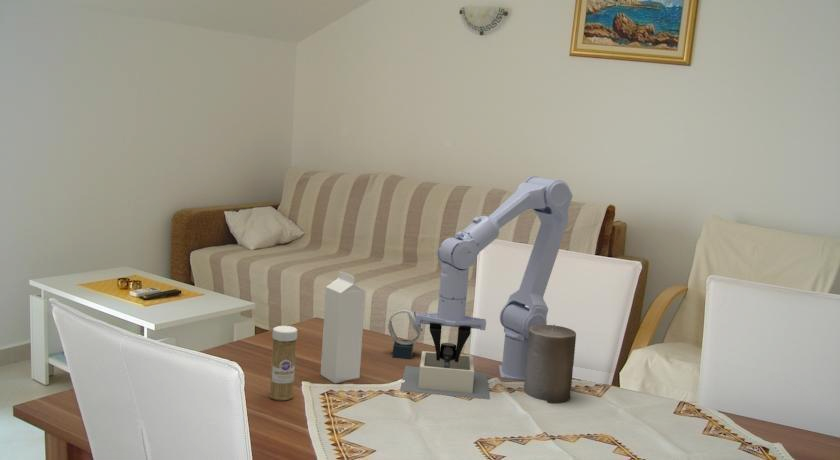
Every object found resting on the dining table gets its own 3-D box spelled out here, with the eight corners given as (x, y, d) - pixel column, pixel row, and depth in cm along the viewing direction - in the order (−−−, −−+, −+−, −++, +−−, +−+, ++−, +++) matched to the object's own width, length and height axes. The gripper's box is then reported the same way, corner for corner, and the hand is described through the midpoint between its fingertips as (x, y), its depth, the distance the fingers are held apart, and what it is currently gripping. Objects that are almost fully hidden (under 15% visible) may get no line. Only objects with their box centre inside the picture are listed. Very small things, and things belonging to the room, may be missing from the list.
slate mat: (486, 374, 162) (486, 373, 162) (490, 401, 146) (490, 399, 146) (405, 367, 163) (405, 365, 163) (399, 392, 147) (399, 390, 147)
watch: (419, 361, 168) (423, 314, 166) (384, 358, 168) (388, 311, 167) (421, 354, 173) (424, 309, 172) (387, 351, 174) (390, 305, 172)
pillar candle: (576, 394, 154) (583, 324, 153) (560, 406, 146) (567, 333, 144) (533, 383, 159) (539, 315, 157) (515, 395, 151) (521, 324, 149)
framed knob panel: (471, 375, 160) (472, 355, 159) (472, 393, 149) (474, 371, 148) (420, 370, 160) (422, 350, 159) (418, 388, 149) (419, 366, 148)
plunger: (465, 373, 158) (468, 341, 157) (466, 386, 150) (469, 353, 149) (426, 369, 159) (428, 337, 158) (424, 382, 150) (427, 349, 149)
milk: (334, 384, 149) (341, 277, 146) (320, 374, 154) (325, 271, 151) (360, 379, 153) (367, 275, 150) (345, 370, 157) (351, 269, 154)
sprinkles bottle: (275, 402, 136) (279, 332, 135) (265, 394, 140) (268, 326, 138) (297, 399, 139) (301, 330, 137) (286, 391, 143) (290, 323, 141)
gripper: (416, 297, 148) (411, 362, 150) (488, 303, 148) (482, 369, 149) (418, 290, 155) (413, 352, 157) (487, 296, 155) (481, 358, 156)
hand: (447, 360), depth 154 cm, fingers closed on plunger, 3 cm apart
